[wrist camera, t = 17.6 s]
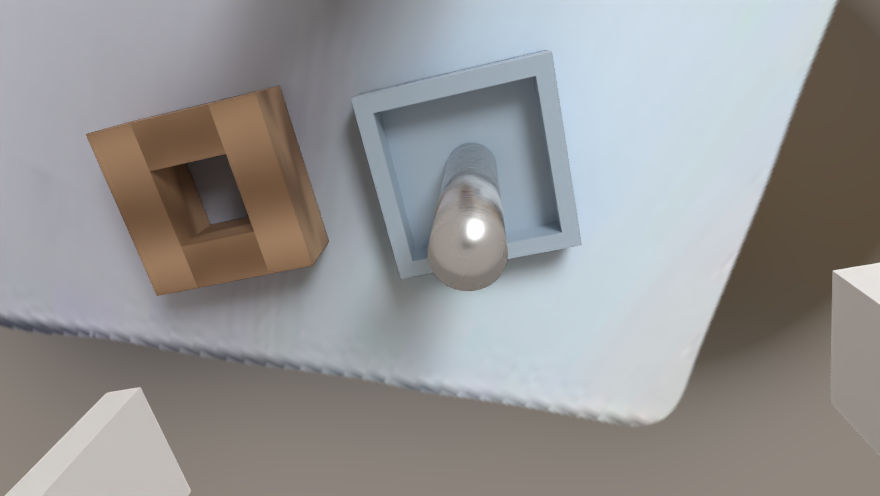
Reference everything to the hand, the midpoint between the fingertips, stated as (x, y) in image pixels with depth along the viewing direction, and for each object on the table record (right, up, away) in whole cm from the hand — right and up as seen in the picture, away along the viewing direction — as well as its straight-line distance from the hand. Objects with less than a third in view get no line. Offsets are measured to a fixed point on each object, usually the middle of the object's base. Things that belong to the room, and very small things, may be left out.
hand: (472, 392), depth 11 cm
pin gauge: (+1, +8, +23) cm, 25 cm away
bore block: (-14, +7, +25) cm, 30 cm away
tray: (+1, +8, +24) cm, 25 cm away
